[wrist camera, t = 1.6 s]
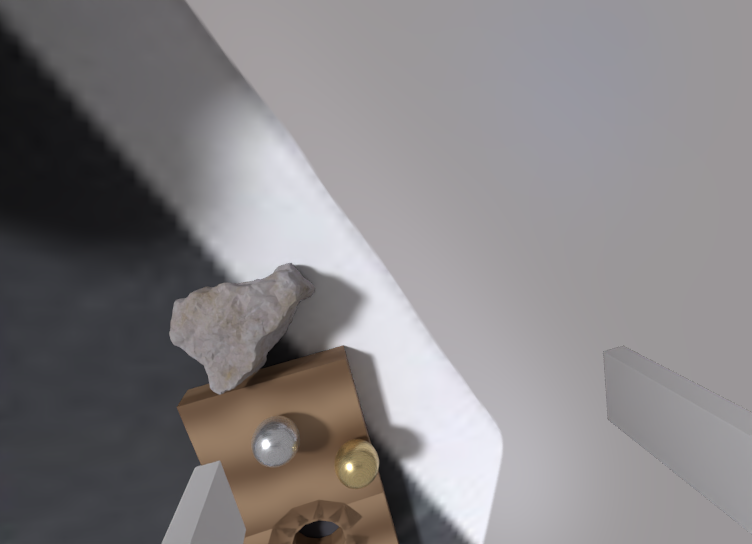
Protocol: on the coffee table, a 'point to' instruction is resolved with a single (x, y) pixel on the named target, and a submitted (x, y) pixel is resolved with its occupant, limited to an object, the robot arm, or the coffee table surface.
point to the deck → (309, 465)
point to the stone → (237, 323)
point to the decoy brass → (356, 464)
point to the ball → (275, 441)
